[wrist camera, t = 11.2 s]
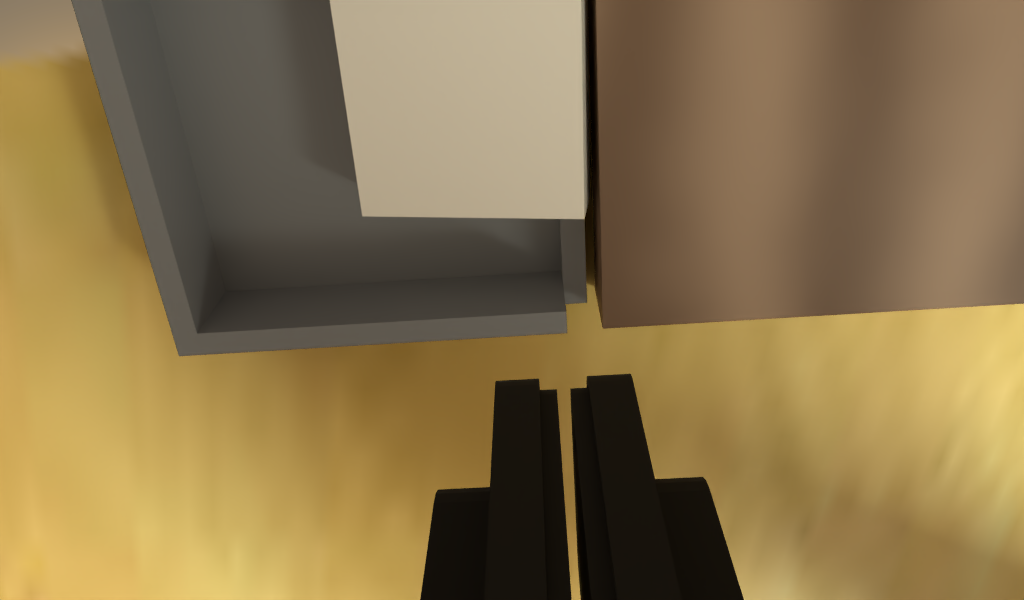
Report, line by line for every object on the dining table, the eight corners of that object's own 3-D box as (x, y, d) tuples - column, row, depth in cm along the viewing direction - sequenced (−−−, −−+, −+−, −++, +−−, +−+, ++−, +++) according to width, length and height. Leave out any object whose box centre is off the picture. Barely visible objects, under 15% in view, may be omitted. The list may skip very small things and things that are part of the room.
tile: (587, -40, 23) (580, -31, 21) (590, 195, 26) (584, 219, 25) (351, -30, 24) (326, -21, 23) (381, 193, 28) (362, 216, 26)
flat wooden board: (1160, -198, 23) (1247, -206, 20) (1043, 259, 29) (1096, 299, 27) (583, -153, 23) (593, -154, 21) (594, 287, 30) (602, 328, 27)
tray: (569, -143, 23) (579, -145, 20) (583, 283, 30) (591, 331, 27) (101, -106, 24) (40, -102, 21) (213, 305, 30) (179, 356, 27)
